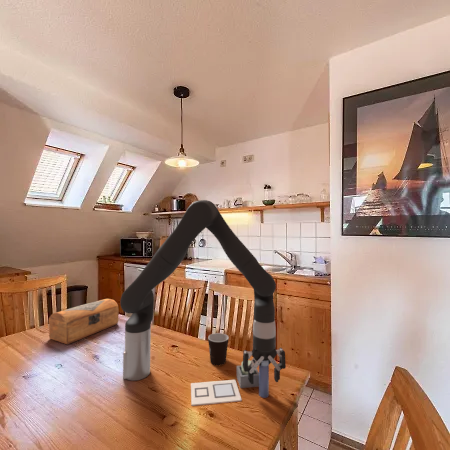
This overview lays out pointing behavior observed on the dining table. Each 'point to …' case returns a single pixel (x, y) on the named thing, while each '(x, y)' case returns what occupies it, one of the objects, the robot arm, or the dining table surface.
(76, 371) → the dining table surface
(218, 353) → the coffee mug
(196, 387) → the sheet
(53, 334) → the wooden box
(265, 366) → the marker
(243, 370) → the button
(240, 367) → the button housing
